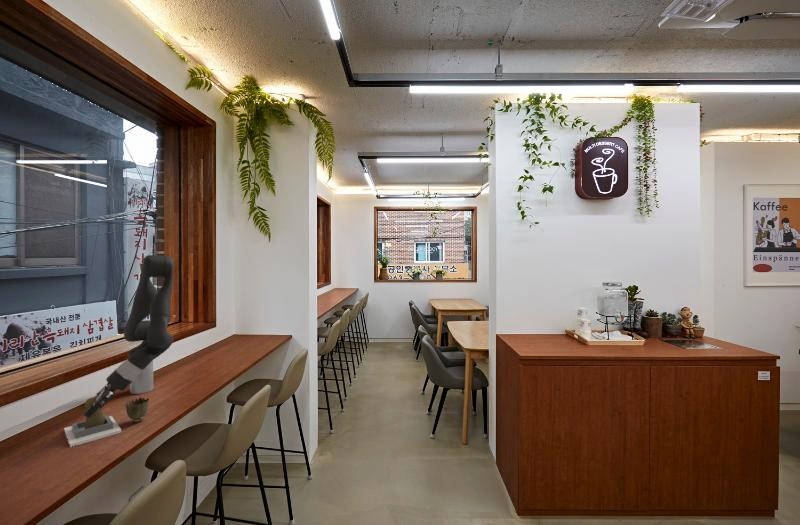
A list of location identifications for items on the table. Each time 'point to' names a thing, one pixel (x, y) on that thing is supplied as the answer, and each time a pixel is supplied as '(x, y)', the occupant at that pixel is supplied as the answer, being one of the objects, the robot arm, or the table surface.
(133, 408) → the cup
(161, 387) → the table surface
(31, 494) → the table surface
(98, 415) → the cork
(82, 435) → the socket board
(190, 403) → the table surface
